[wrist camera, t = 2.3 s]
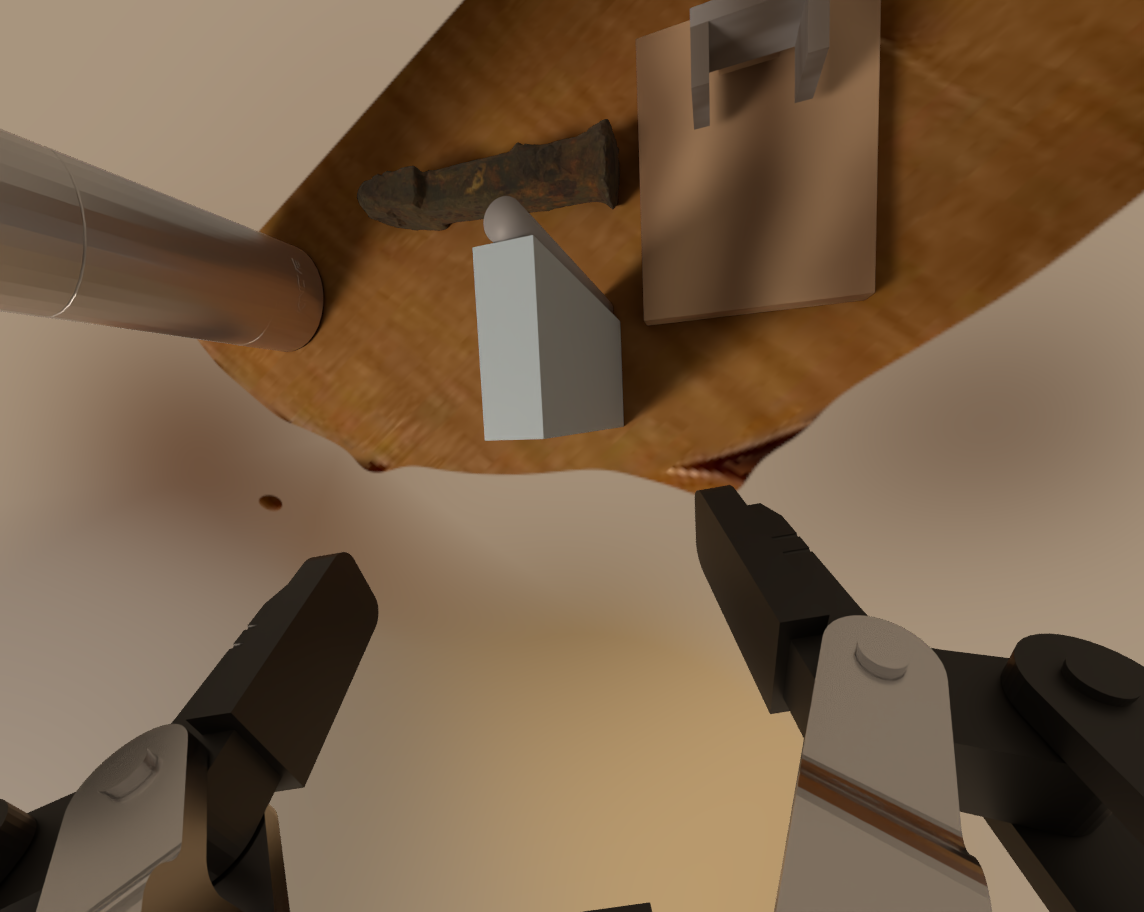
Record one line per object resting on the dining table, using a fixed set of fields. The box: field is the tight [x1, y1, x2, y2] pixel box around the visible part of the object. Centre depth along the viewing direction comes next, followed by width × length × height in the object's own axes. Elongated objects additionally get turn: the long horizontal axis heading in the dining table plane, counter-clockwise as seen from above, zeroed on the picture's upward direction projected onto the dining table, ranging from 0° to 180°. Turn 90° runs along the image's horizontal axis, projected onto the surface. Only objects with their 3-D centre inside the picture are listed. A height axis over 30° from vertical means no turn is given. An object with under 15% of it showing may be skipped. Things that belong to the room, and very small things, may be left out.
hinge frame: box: [636, 0, 881, 326], centre depth 15 cm, size 12×16×20 cm
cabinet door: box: [473, 196, 624, 441], centre depth 21 cm, size 2×9×14 cm, turn 3°
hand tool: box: [357, 119, 620, 231], centre depth 27 cm, size 19×4×5 cm, turn 88°
